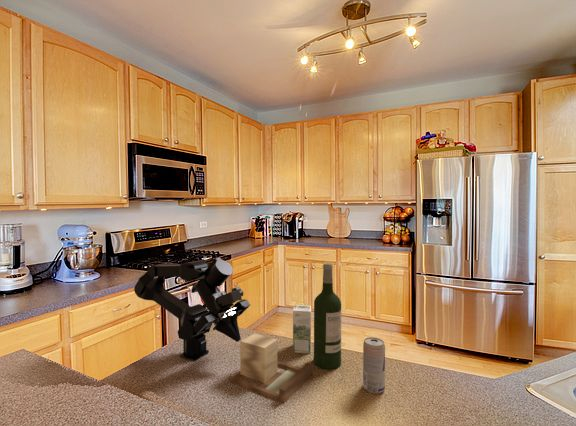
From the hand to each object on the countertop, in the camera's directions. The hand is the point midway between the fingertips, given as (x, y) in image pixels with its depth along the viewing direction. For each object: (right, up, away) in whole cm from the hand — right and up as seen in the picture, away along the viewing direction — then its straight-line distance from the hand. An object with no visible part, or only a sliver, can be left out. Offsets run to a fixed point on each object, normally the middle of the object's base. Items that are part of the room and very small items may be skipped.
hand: (239, 340), depth 85 cm
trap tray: (+9, -9, -6) cm, 14 cm away
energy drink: (+36, -9, -8) cm, 38 cm away
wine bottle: (+25, -9, +2) cm, 27 cm away
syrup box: (+18, -9, +11) cm, 23 cm away
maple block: (+6, -7, -4) cm, 10 cm away
